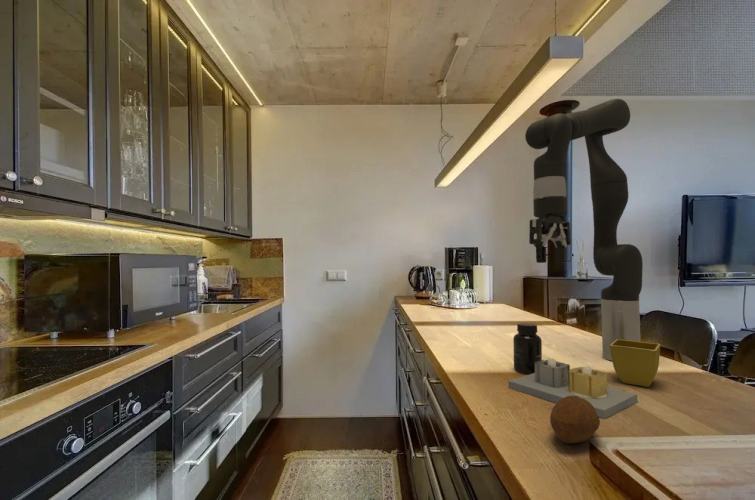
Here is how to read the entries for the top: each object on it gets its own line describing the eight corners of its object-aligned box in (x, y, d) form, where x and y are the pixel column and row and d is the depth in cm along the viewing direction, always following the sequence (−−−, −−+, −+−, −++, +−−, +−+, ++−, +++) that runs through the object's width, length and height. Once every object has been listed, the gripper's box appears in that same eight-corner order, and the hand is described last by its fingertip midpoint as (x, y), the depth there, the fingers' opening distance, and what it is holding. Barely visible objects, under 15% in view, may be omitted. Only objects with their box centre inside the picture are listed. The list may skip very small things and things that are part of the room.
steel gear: (547, 376, 84) (546, 359, 84) (572, 383, 79) (571, 364, 80) (532, 381, 81) (532, 363, 81) (557, 388, 76) (557, 369, 76)
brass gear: (580, 385, 78) (579, 366, 78) (609, 392, 73) (609, 372, 73) (566, 390, 75) (565, 370, 75) (595, 399, 70) (595, 378, 70)
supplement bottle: (545, 375, 90) (544, 327, 90) (516, 374, 91) (515, 326, 92) (538, 367, 97) (537, 322, 97) (511, 366, 98) (511, 322, 98)
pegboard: (543, 376, 89) (543, 349, 90) (637, 401, 73) (636, 369, 73) (508, 387, 81) (508, 358, 82) (604, 418, 65) (603, 382, 65)
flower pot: (610, 383, 84) (608, 344, 84) (617, 374, 90) (616, 338, 91) (657, 392, 78) (656, 350, 78) (662, 382, 84) (660, 343, 85)
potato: (603, 431, 60) (602, 389, 60) (597, 463, 51) (596, 412, 51) (558, 421, 64) (557, 381, 64) (545, 449, 55) (544, 402, 55)
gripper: (551, 202, 97) (552, 262, 96) (518, 196, 89) (520, 262, 88) (579, 197, 91) (581, 262, 90) (548, 191, 83) (549, 262, 82)
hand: (551, 262), depth 89 cm, fingers open, 8 cm apart
